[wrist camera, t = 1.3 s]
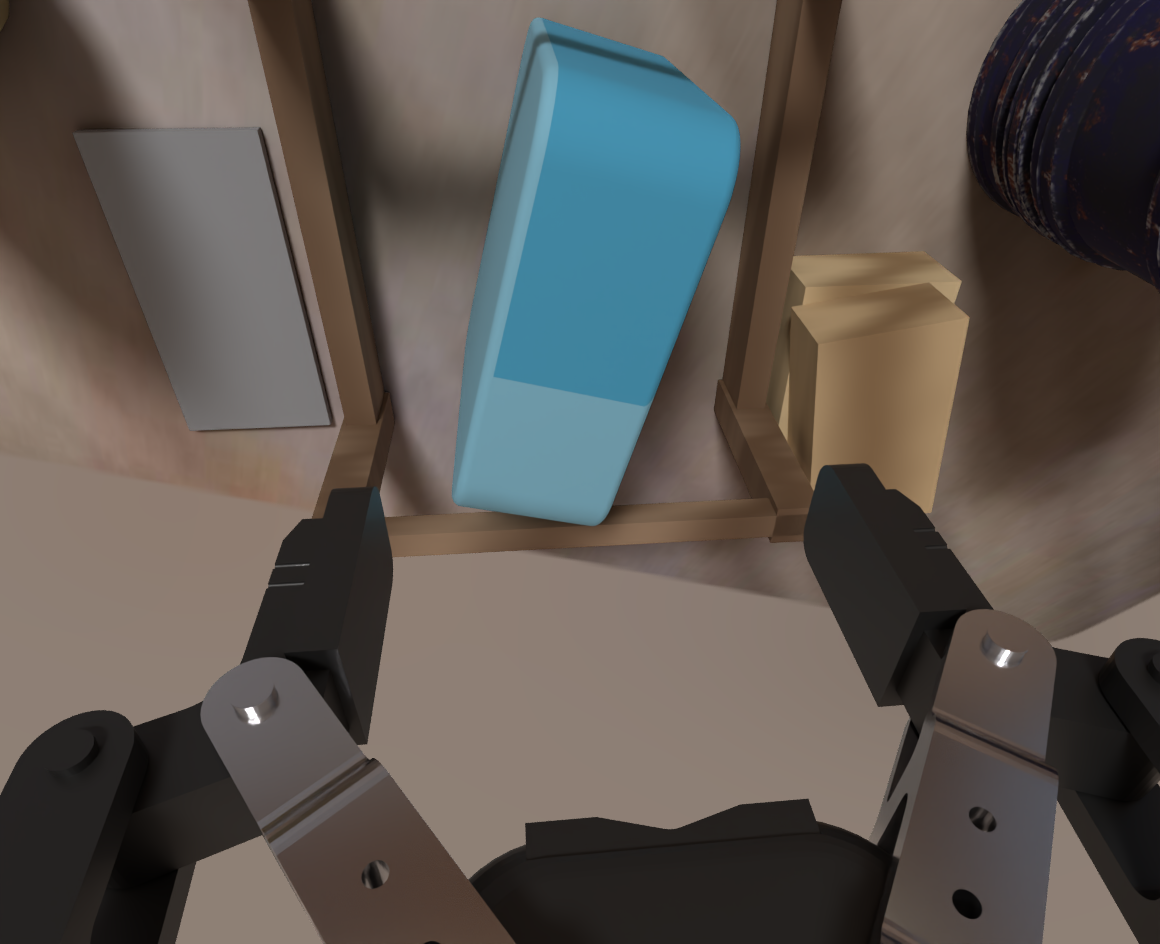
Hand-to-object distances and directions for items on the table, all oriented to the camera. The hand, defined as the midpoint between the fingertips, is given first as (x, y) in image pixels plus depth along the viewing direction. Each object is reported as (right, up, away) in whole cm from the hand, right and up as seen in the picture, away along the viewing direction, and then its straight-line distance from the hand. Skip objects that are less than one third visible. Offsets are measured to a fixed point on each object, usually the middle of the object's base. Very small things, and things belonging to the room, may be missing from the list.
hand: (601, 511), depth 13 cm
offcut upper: (+11, +4, +17) cm, 20 cm away
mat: (-14, +8, +15) cm, 22 cm away
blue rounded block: (-1, +11, +14) cm, 18 cm away
